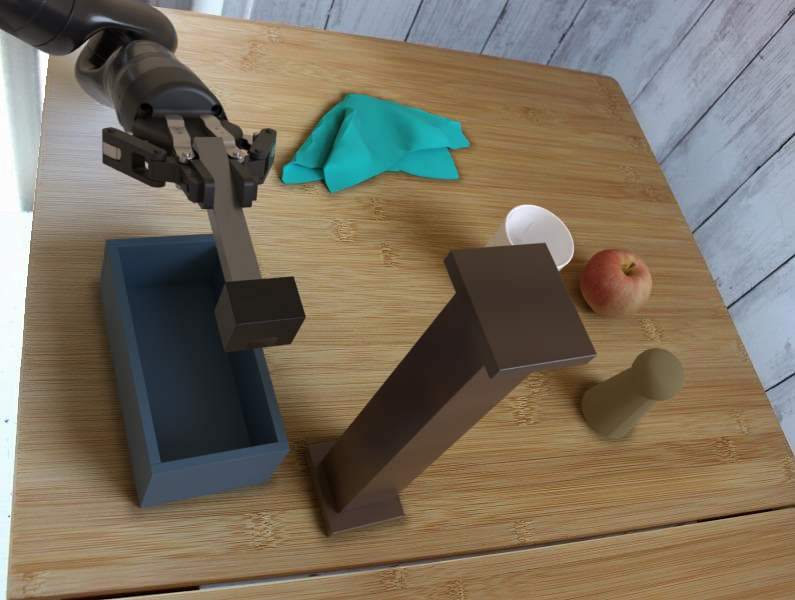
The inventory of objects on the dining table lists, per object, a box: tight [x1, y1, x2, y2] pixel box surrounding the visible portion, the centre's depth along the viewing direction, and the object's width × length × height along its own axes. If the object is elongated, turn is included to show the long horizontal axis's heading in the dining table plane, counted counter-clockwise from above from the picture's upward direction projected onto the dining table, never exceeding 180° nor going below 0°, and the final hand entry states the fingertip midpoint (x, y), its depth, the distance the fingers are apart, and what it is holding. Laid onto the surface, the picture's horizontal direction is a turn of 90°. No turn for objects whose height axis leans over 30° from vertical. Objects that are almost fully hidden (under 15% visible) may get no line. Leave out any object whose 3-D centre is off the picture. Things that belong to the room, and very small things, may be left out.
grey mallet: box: [192, 137, 307, 352], centre depth 55 cm, size 16×4×4 cm, turn 19°
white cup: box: [484, 203, 575, 272], centre depth 88 cm, size 8×8×10 cm
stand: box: [303, 243, 598, 539], centre depth 61 cm, size 8×7×32 cm
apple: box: [579, 248, 653, 320], centre depth 94 cm, size 8×8×8 cm
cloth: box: [281, 93, 471, 194], centre depth 96 cm, size 26×14×2 cm, turn 112°
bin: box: [98, 233, 291, 509], centre depth 70 cm, size 21×11×8 cm, turn 19°
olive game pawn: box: [580, 347, 686, 440], centre depth 84 cm, size 6×6×11 cm
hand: (229, 195), depth 55 cm, fingers closed on grey mallet, 2 cm apart
